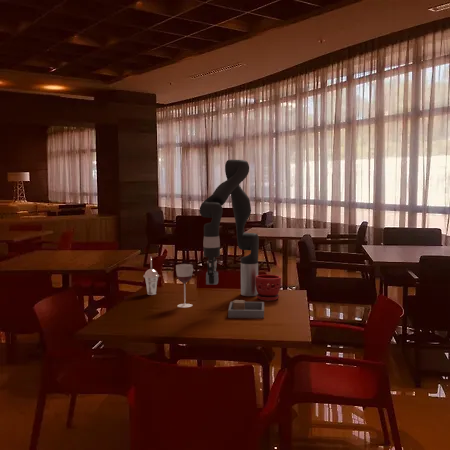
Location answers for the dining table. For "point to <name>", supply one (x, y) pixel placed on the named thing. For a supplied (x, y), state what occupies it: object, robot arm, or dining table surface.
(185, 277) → the wineglass
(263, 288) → the plant pot
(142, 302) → the dining table surface
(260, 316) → the tray
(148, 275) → the cup with straw
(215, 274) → the slate block
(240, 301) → the walnut block
